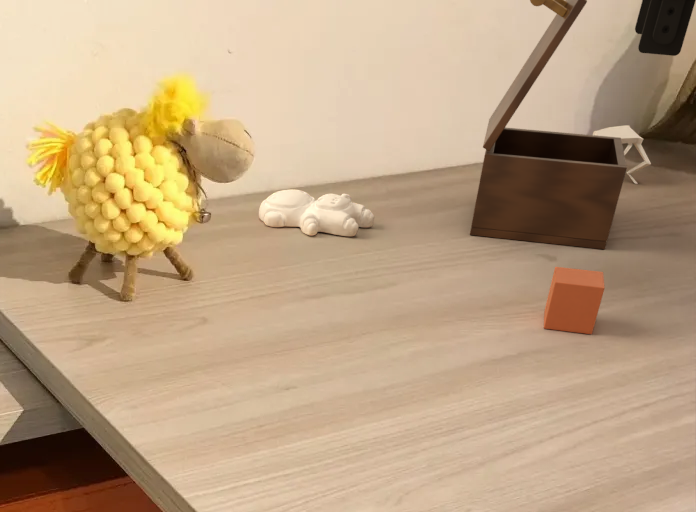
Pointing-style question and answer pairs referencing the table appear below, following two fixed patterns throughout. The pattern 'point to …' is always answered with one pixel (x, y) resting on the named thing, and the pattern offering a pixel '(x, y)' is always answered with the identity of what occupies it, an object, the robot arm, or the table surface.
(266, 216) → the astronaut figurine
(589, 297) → the block
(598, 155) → the chest
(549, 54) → the lid
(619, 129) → the origami figure
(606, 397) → the table surface
